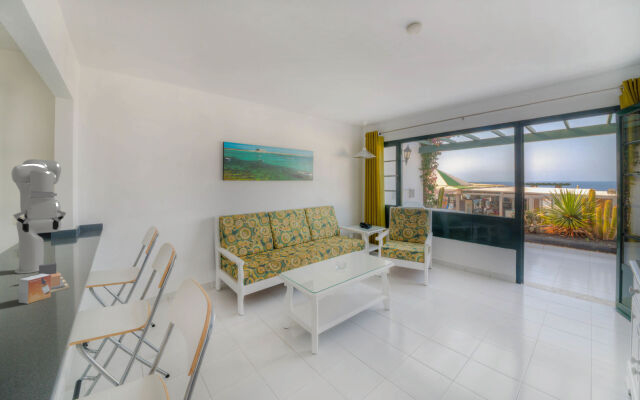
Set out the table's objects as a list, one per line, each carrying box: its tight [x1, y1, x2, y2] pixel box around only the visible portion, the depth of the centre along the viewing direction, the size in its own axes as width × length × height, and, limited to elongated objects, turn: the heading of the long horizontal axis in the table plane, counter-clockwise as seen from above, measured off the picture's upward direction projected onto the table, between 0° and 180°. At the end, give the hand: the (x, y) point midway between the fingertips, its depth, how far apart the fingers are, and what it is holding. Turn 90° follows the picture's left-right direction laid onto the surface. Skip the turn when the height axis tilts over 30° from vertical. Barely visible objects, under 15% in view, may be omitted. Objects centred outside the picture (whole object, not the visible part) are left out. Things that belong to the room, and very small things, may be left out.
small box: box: [18, 273, 52, 305], centre depth 110 cm, size 8×6×10 cm
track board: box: [29, 271, 70, 293], centre depth 128 cm, size 33×11×1 cm, turn 53°
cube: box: [50, 273, 60, 287], centre depth 121 cm, size 5×5×5 cm
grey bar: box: [38, 262, 65, 289], centre depth 125 cm, size 22×8×8 cm, turn 53°
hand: (41, 230), depth 119 cm, fingers open, 9 cm apart
